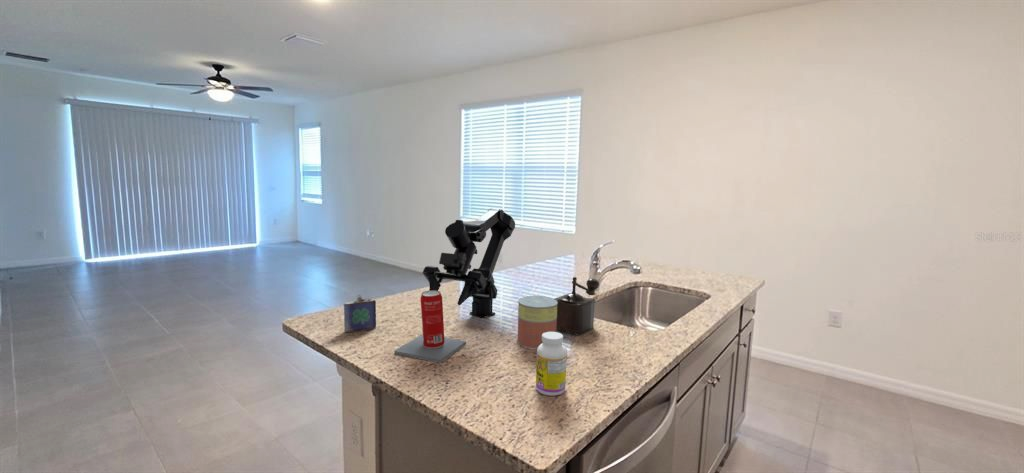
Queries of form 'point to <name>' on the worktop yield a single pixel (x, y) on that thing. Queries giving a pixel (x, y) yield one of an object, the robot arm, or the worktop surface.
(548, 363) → the supplement bottle
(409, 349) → the rubber mat
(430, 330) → the beverage can
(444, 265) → the robot arm
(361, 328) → the flask
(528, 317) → the canned food
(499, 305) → the worktop surface
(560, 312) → the pepper mill
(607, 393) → the worktop surface
